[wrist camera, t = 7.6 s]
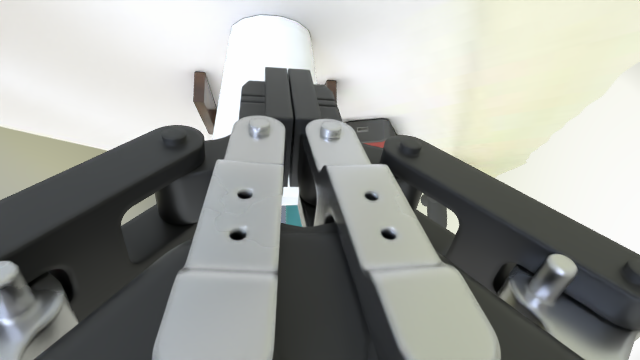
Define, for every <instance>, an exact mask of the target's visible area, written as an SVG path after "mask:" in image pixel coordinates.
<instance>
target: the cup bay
mask: <svg viewBox="0 0 640 360" xmlns="http://www.w3.org/2000/svg"><path fill="white" fill-rule="evenodd" d="M325 86H326V87H328V88H329V89H330V90H331V91H332V92H333V94H334V97H335V101H336V103H337V92H336V81H328V80H327V82H326V84H325ZM193 102H194V104H195V106H196V108H197V110H198V112H199V114H200V116H201V118H202V120H203V122H204V124H205V127H206V129H207V131H208V133H209V134H213V131H214V125H215V119H216V113H217V109H216V106H215V102H214V99H213V96H212V93H211V90H210V87H209V84H208V81H207V77H206V74H205V73H203V72H195V74H194V97H193Z"/></svg>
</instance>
